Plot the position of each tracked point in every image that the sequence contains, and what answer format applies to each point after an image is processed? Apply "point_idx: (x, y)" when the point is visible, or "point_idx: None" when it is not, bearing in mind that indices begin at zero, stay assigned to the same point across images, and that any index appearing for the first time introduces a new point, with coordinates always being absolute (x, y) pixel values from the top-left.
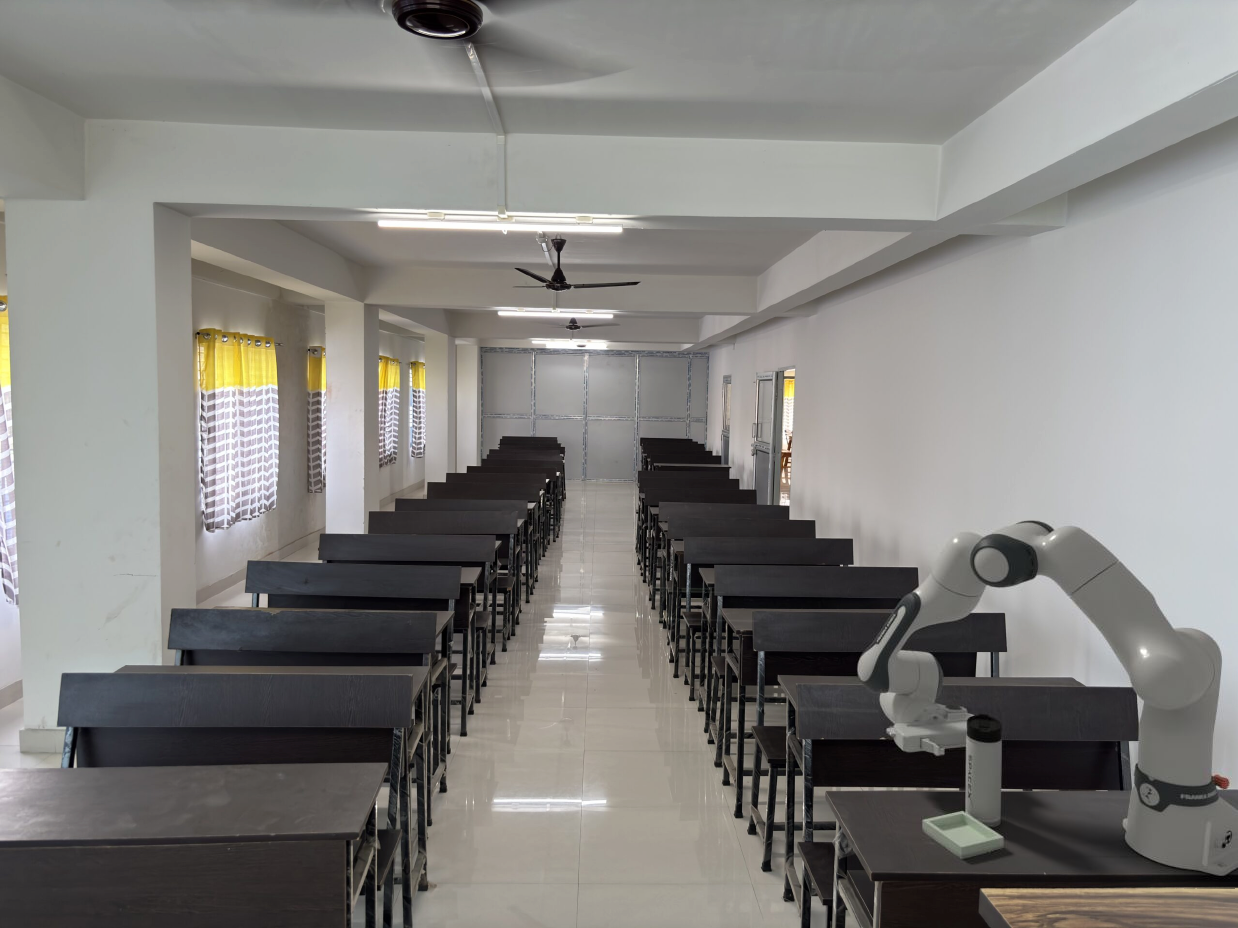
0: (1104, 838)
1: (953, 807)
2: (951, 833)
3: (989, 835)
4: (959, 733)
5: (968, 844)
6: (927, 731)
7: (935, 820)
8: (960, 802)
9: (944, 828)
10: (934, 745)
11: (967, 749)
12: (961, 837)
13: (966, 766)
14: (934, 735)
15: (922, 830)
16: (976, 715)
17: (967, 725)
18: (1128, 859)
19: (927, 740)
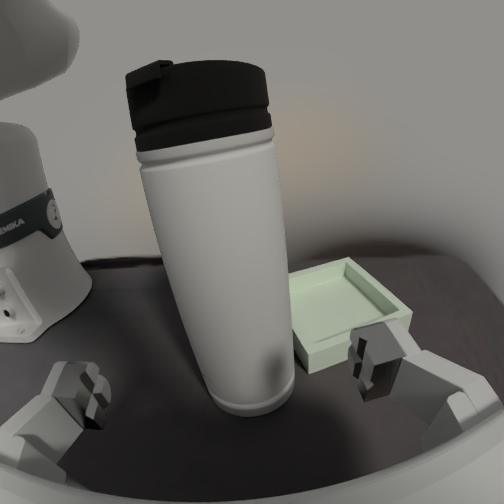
0: (87, 320)
1: (305, 442)
2: (352, 317)
3: None
4: (110, 495)
5: (335, 262)
6: (476, 487)
7: (384, 318)
8: (268, 471)
9: None
10: (412, 340)
11: (279, 181)
12: (334, 309)
13: (285, 255)
14: (406, 462)
15: (407, 330)
16: (179, 65)
17: (265, 81)
18: (111, 286)
19: (460, 394)
